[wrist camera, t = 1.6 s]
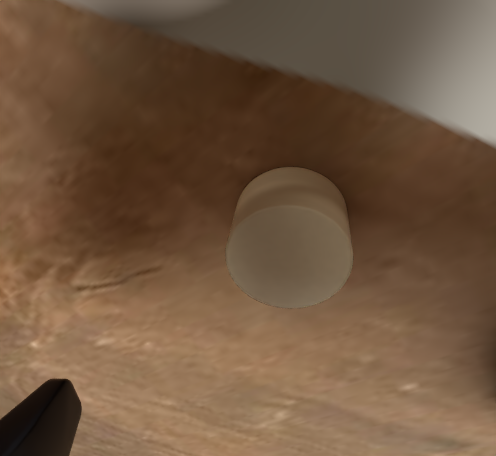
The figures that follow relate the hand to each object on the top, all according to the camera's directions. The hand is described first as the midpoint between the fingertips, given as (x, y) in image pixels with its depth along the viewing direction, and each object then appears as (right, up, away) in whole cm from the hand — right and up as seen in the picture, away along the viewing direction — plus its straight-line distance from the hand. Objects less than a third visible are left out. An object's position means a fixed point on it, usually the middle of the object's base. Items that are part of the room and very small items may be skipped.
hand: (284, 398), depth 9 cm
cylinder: (+1, +4, +6) cm, 7 cm away
